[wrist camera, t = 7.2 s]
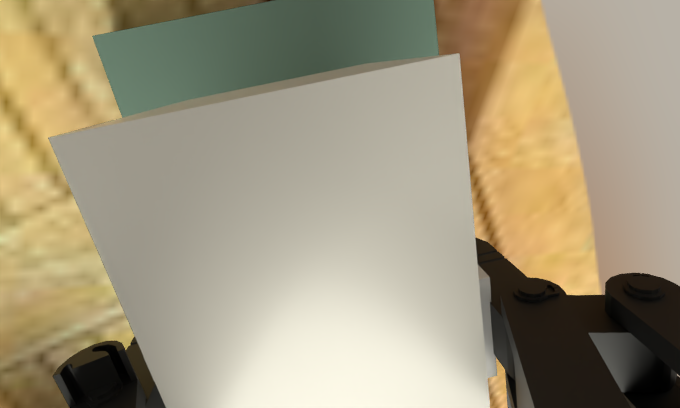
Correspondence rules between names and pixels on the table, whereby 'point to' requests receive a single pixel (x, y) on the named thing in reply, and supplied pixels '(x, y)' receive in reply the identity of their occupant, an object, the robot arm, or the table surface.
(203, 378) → the block
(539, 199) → the table surface
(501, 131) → the table surface
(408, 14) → the header board
